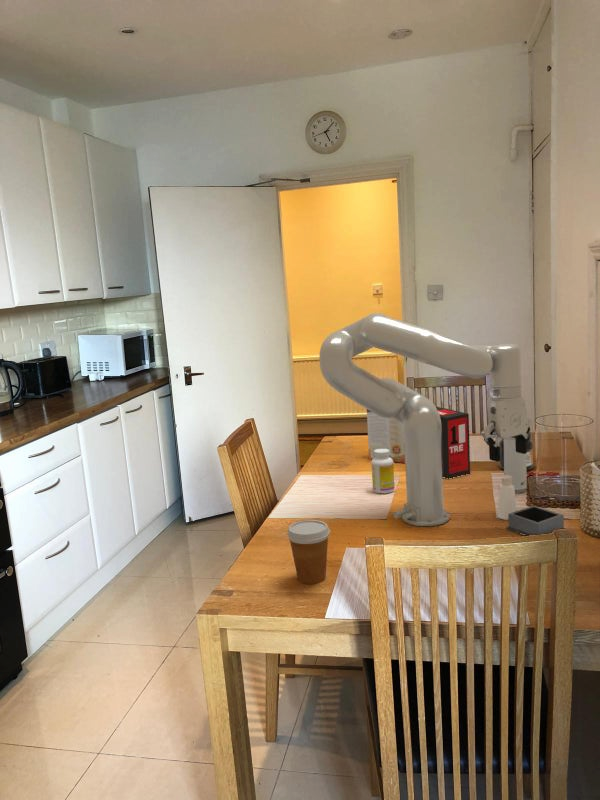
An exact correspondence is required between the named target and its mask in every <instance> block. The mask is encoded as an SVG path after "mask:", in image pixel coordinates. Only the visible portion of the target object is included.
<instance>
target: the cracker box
mask: <svg viewBox="0 0 600 800" xmlns="http://www.w3.org/2000/svg"><path fill="white" fill-rule="evenodd" d="M366 419H367V420H366V422H367V440H368V441H367V442H368V443H367V444H368V456H369V457H368V459H369V461H372V460H373V459H374V458H375V455H374V450H376V449H388V450H389V452H390V454H389V457H390V458H392V460H393V463H401V464H403V463H404V464H405V444H404V424H403V423H401V422H399V421H398V420H396V419H394V418H383V417H380V416H378V415H376V414H375V413H373V412H371V411H370V410H368V409H366Z"/></svg>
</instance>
